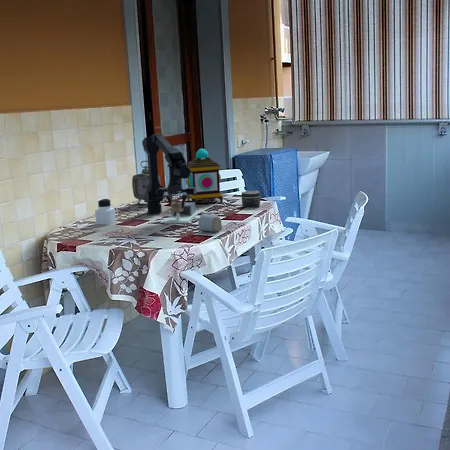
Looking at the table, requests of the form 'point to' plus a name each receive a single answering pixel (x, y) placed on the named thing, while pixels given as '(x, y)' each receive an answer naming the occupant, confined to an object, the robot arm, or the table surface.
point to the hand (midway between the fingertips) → (177, 208)
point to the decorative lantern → (204, 177)
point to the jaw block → (176, 207)
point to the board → (180, 217)
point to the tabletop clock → (141, 183)
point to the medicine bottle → (105, 213)
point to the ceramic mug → (209, 223)
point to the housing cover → (188, 208)
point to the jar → (250, 199)
